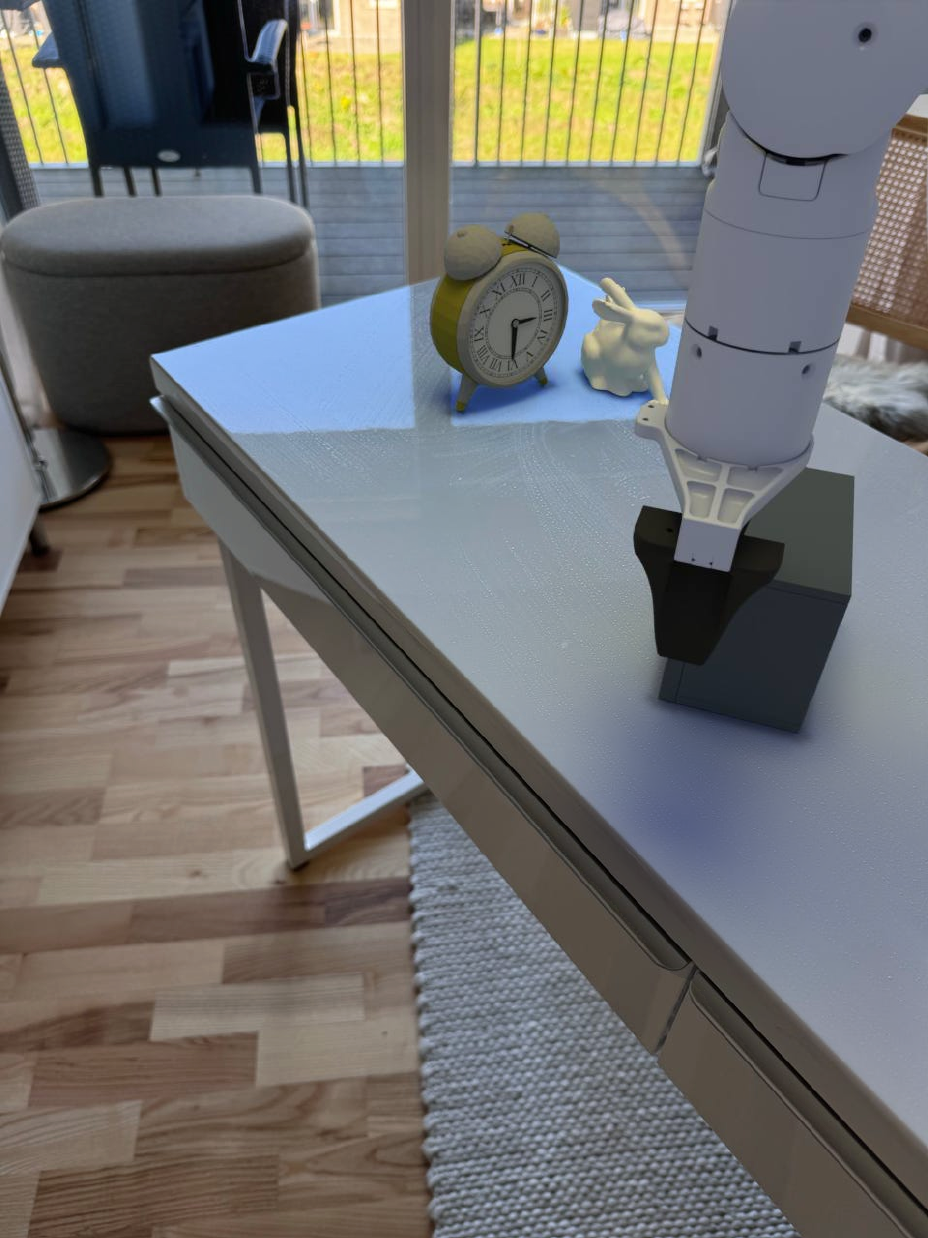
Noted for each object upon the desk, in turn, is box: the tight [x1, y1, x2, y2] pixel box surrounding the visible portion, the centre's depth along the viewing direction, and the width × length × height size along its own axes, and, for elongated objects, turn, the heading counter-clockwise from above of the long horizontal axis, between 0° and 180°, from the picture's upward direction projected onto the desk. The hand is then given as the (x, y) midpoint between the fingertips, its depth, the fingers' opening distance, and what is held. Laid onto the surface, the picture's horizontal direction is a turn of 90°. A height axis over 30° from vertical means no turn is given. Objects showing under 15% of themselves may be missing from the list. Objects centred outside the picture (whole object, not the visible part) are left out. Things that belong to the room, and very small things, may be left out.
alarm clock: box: [429, 211, 570, 413], centre depth 78 cm, size 12×7×15 cm, turn 126°
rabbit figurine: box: [580, 277, 671, 404], centre depth 81 cm, size 12×8×10 cm, turn 18°
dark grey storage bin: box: [657, 466, 856, 734], centre depth 54 cm, size 8×12×10 cm, turn 161°
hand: (694, 604), depth 43 cm, fingers open, 7 cm apart
